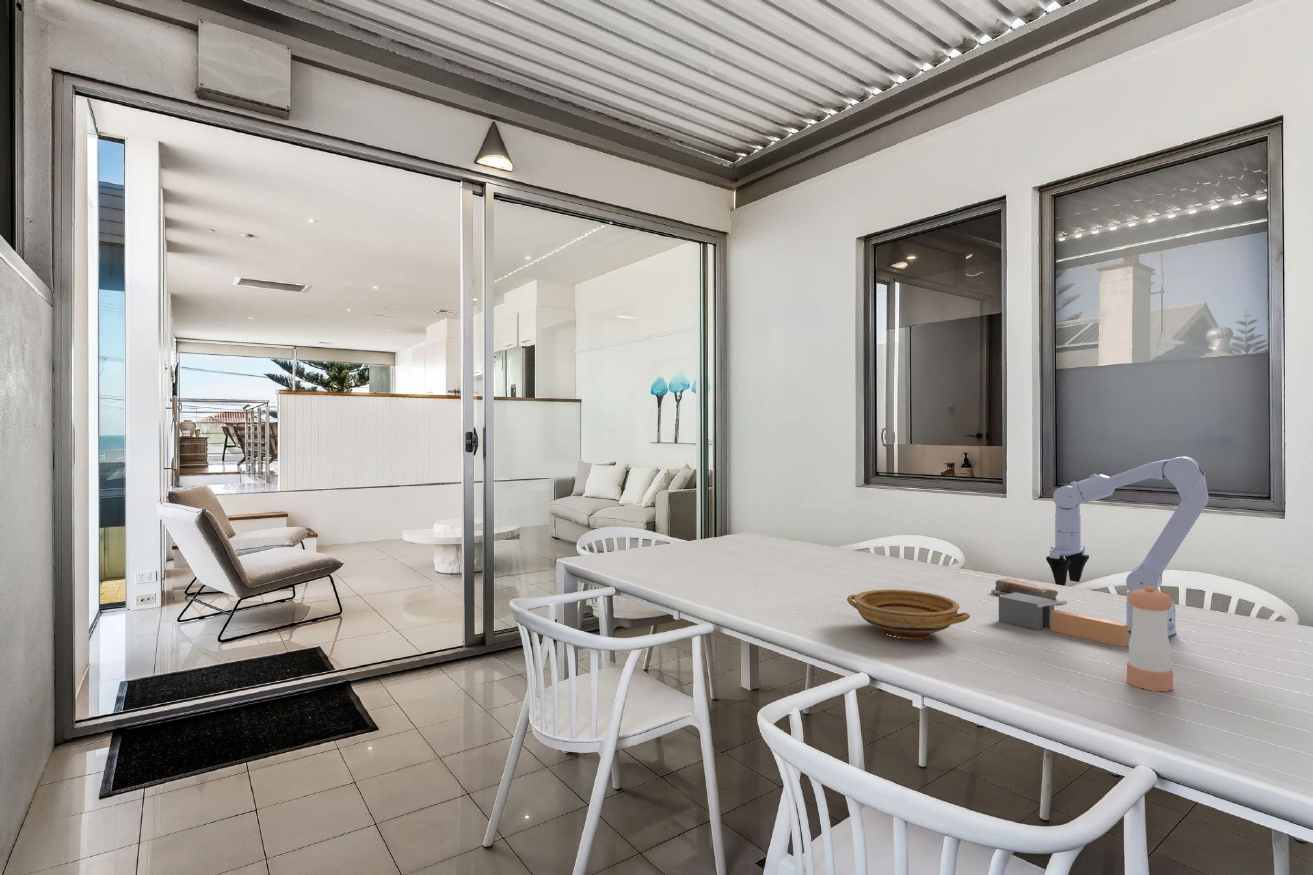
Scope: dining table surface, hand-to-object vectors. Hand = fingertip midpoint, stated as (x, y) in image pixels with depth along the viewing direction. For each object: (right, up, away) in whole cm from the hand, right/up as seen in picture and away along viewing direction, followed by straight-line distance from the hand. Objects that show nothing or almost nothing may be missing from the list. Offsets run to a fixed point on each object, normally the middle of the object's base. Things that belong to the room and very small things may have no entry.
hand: (1067, 583), depth 179 cm
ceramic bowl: (-47, -10, -12) cm, 50 cm away
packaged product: (+1, -10, +22) cm, 24 cm away
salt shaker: (-12, -10, -47) cm, 49 cm away
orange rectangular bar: (-5, -10, -16) cm, 19 cm away
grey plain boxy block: (-13, -10, -4) cm, 17 cm away
